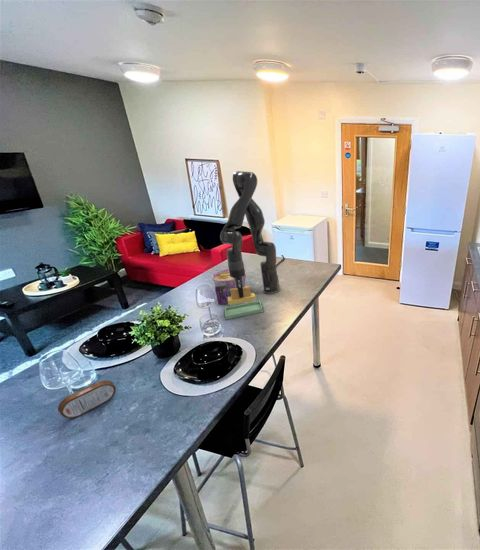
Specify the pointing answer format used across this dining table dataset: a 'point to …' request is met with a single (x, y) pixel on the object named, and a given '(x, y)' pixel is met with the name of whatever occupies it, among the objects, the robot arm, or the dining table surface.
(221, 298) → the beverage can
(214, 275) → the bowl of food
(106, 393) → the tin
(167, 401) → the dining table surface
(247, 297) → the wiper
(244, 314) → the tray
